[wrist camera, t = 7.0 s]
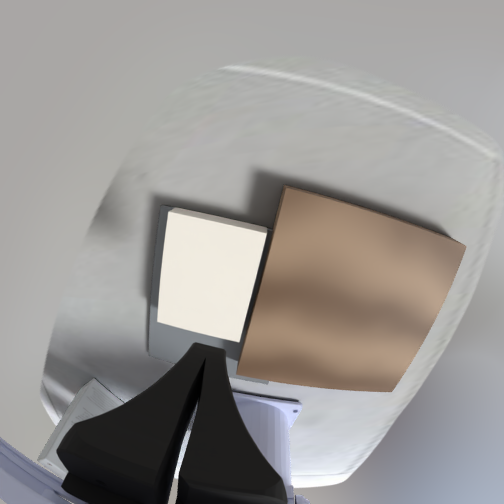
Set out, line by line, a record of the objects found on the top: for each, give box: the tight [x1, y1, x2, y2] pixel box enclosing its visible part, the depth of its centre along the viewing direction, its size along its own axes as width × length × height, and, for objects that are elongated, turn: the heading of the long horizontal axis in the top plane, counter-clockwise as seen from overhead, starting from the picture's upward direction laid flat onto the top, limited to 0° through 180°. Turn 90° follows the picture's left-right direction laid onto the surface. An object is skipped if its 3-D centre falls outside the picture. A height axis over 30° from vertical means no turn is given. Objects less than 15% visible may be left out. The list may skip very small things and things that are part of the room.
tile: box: [157, 207, 267, 342], centre depth 18 cm, size 8×6×2 cm
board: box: [236, 185, 467, 392], centre depth 19 cm, size 14×14×2 cm
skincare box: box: [37, 378, 124, 480], centre depth 20 cm, size 6×4×12 cm
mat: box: [149, 205, 273, 384], centre depth 20 cm, size 13×10×1 cm
